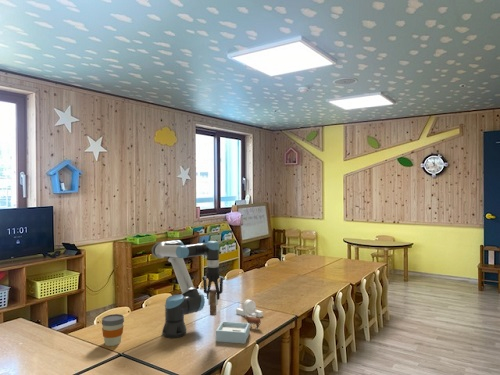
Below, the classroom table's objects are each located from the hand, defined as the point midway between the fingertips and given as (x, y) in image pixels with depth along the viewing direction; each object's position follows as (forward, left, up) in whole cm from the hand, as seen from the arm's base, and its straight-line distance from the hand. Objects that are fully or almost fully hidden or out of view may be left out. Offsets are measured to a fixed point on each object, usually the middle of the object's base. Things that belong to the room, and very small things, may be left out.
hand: (213, 304), depth 224 cm
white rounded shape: (+15, +47, -22) cm, 54 cm away
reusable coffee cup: (-57, -16, -21) cm, 63 cm away
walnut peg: (0, 0, -6) cm, 6 cm away
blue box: (+12, +5, -21) cm, 25 cm away
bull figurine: (+21, +23, -21) cm, 38 cm away
